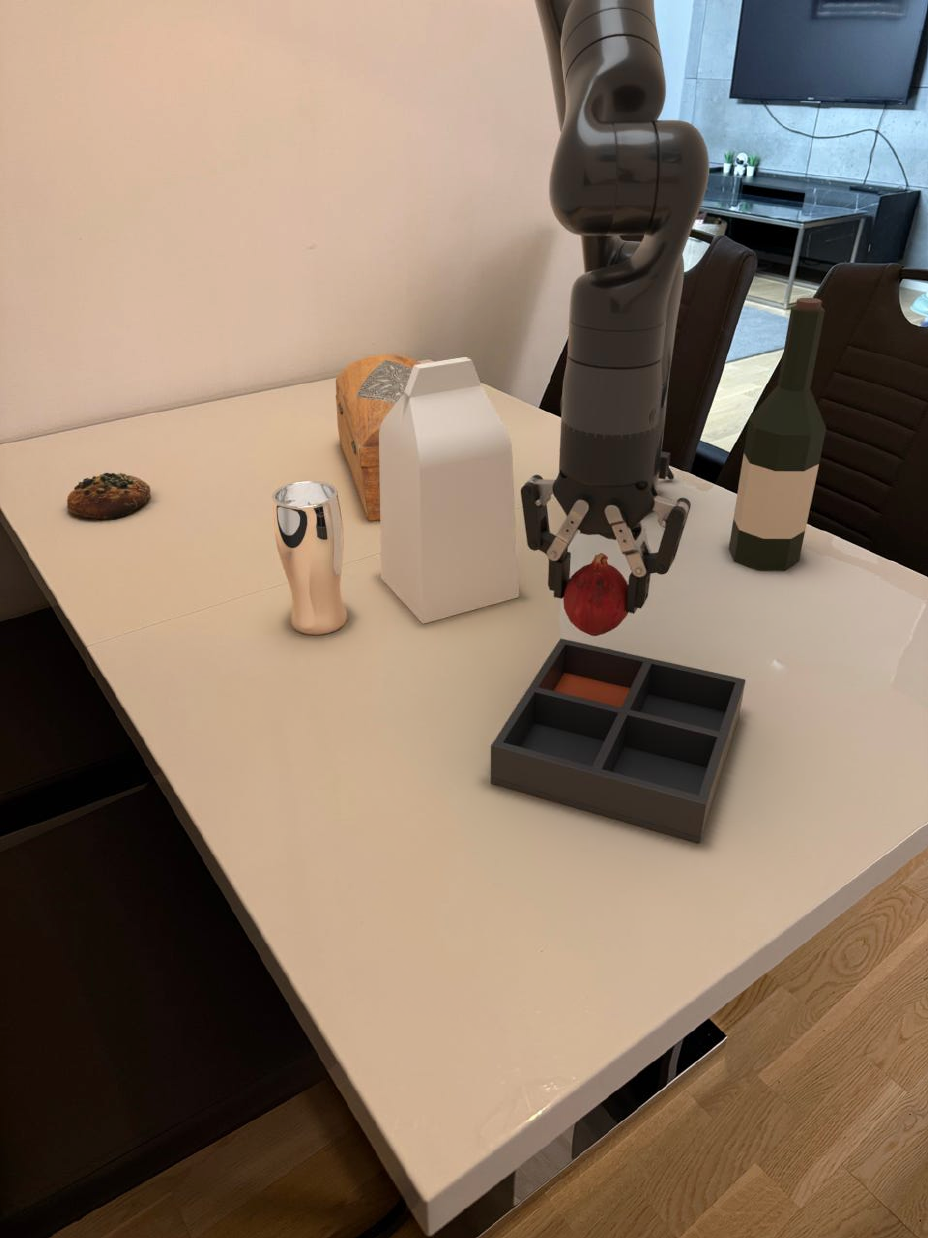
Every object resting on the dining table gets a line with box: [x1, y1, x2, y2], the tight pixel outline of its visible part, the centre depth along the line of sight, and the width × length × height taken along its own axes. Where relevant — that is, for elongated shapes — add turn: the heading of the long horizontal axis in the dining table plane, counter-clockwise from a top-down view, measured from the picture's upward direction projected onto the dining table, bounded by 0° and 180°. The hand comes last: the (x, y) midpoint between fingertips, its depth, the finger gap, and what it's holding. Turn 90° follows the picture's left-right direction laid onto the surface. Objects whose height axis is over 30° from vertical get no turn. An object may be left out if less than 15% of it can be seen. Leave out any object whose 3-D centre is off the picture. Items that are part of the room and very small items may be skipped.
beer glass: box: [271, 480, 348, 636], centre depth 96 cm, size 7×7×15 cm
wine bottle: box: [728, 297, 827, 572], centre depth 103 cm, size 8×8×30 cm
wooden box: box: [335, 354, 422, 522], centre depth 131 cm, size 30×16×14 cm, turn 12°
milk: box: [379, 356, 520, 625], centre depth 99 cm, size 12×12×26 cm
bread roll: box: [66, 472, 151, 521], centre depth 126 cm, size 11×11×5 cm
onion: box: [562, 552, 629, 637], centre depth 79 cm, size 6×6×8 cm
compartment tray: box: [490, 638, 746, 844], centre depth 80 cm, size 18×18×4 cm
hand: (596, 600), depth 80 cm, fingers closed on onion, 6 cm apart
